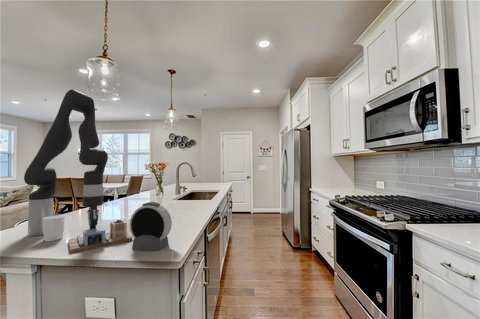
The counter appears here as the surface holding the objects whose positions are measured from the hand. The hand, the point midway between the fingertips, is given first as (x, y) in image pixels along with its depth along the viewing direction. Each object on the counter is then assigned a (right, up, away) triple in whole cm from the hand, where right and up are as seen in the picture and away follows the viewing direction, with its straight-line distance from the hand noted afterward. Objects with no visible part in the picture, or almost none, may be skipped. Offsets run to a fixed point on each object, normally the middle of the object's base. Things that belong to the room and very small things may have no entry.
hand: (92, 234), depth 97 cm
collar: (+8, -2, +5) cm, 10 cm away
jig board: (+3, -4, +1) cm, 5 cm away
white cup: (-22, -4, +5) cm, 23 cm away
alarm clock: (+27, -4, -5) cm, 28 cm away
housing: (+3, -2, -4) cm, 6 cm away
